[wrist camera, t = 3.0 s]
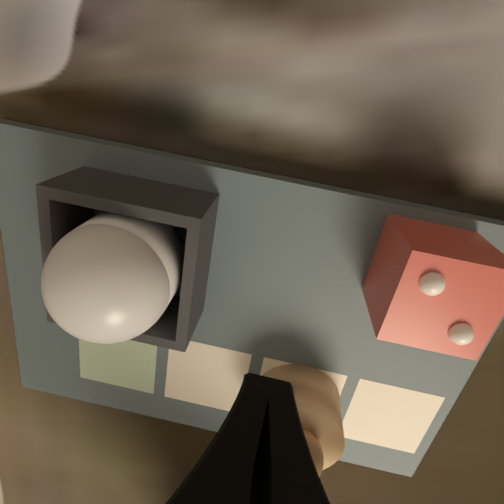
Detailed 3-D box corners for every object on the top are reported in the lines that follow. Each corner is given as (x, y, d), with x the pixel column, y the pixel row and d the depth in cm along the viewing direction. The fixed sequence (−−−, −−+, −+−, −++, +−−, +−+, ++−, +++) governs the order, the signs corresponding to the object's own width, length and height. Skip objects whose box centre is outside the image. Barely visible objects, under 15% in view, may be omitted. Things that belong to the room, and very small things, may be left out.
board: (407, 462, 24) (428, 538, 20) (32, 376, 25) (-20, 431, 21) (537, 227, 17) (611, 272, 13) (1, 118, 18) (-86, 128, 14)
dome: (182, 309, 18) (143, 384, 14) (86, 288, 18) (16, 355, 14) (192, 217, 16) (150, 269, 12) (83, 194, 16) (0, 236, 12)
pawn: (326, 434, 23) (333, 528, 18) (248, 416, 23) (234, 504, 18) (349, 374, 21) (364, 463, 16) (262, 355, 21) (250, 437, 16)
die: (441, 305, 18) (481, 368, 14) (361, 288, 18) (378, 346, 14) (477, 231, 16) (534, 280, 12) (388, 213, 17) (415, 255, 13)
